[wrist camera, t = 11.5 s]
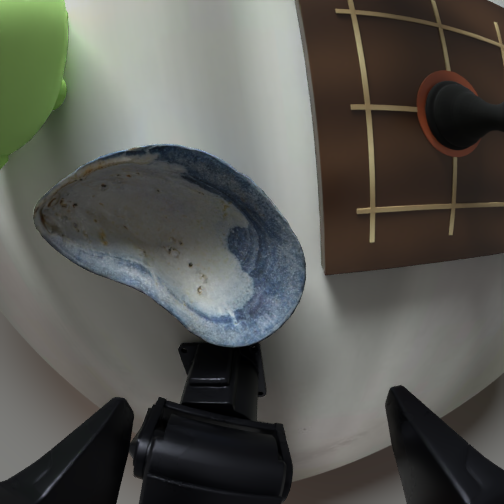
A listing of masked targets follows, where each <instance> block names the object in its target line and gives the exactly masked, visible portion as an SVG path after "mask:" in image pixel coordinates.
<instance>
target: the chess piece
mask: <svg viewBox="0 0 504 504" xmlns="http://www.w3.org/2000/svg"><path fill="white" fill-rule="evenodd" d="M425 114H426V119H427V123H428V126H429V128H430V130H431V132H432V134H433V135H434V137H435V138H436V139H437V141H439V142H440V143H441V144H442V145H443V146H445V147H447V148H449V149H452V150H464V149H467V148H469V147H470V146H472V145H474V144H475V143H477V142H478V141H479V139H480V138H482V137H483V136H485V135H486V134H487V133H489V132H490V131H502V132H504V102H502V103H501V104H498V105H494V104H489V103H487V102H485V101H484V100H482V99H481V98H480V97H478V96H477V95H475V94H474V93H473V92H472V91H471V90H470V89H468V88H466V87H465V86H463V85H461V84H459V83H457V82H454V81H442V82H439V83H437V84H436V85H434V86H433V87H432V88H431V90H430V91H429V93H428V96H427V99H426V104H425Z"/></svg>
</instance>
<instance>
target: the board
mask: <svg viewBox="0 0 504 504" xmlns="http://www.w3.org/2000/svg"><path fill="white" fill-rule="evenodd" d="M295 5H296V10H297V16H298V21H299V27H300V33H301V39H302V45H303V51H304V58H305V65H306V72H307V79H308V87H309V95H310V103H311V112H312V121H313V131H314V141H315V153H316V165H317V178H318V194H319V211H320V234H321V265H322V268H323V270H324V273H325V275H334V274H344V273H353V272H362V271H371V270H380V269H389V268H397V267H405V266H413V265H421V264H429V263H437V262H444V261H452V260H459V259H466V258H473V257H480V256H487V255H493V254H500V253H504V132H502V131H490V132H489V133H487V134H486V135H485V136H483V137H482V138H480V139H479V141H478V142H477V143H475V144H474V145H472V146H470V147H469V148H467V149H464V150H452V149H449V148H447V147H445V146H443V145H442V144H441V143H440V142H439V141H437V139H436V138H435V137H434V135H433V134H432V132H431V130H430V128H429V126H428V123H427V119H426V114H425V104H426V99H427V96H428V93H429V91H430V90H431V88H432V87H433V86H434V85H436V84H437V83H439V82H442V81H454V82H457V83H459V84H461V85H463V86H465V87H466V88H468V89H470V90H471V91H472V92H473V93H474V94H475V95H477V96H478V97H480V98H481V99H482V100H484V101H485V102H487V103H489V104H494V105H498V104H501V103H502V102H504V8H503V7H501V6H499V5H497V4H494V3H492V2H490V1H488V0H295Z"/></svg>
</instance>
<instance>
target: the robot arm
mask: <svg viewBox="0 0 504 504" xmlns="http://www.w3.org/2000/svg"><path fill="white" fill-rule="evenodd" d="M251 346H255V348H252V347H251ZM183 348H184V349H186V350H184V349H183ZM178 351H179V354H180V357H181V360H182V362H183V365H184V368H185V371H186V373H187V380H186V383H185V387H184V390H183V394H182V397H181V401H180V404H178V403H174V402H171V401H167V399H165V398H162V397H159V398H158V400H157V402H156V404H155V405H154V404H153V406H152V408H148V411H147V414H146V417H145V419H144V422H143V424H142V426H141V428H140V430H139V431H138V433H137V434H136V436H135V437H134V438H133V440H132V442H131V443H130V440H131V433H132V427H133V420H134V413H133V410H132V409H131V407H130V405H129V404H128V402H127V400H126V399H125V398H121V397H114V398H112V399H111V400H110V401H109V402H108V403H106V404H105V405H104V406H103V407H102V408H100V409H99V410H98V411H97V412H96V413H95V414H93V415H92V416H91V417H90V418H89V419H87V420H86V421H85V422H84V423H83V424H81V425H80V426H79V427H78V428H77V429H75V430H74V431H73V432H72V433H71V434H69V435H68V436H67V437H66V438H64V440H62V441H61V442H60V443H58V444H57V445H56V446H55V447H54V448H53V449H51V450H50V451H49V452H47V453H46V454H45V455H44V456H42V457H41V458H40V459H38V460H37V461H36V462H35V463H33V464H31V465H30V466H28V467H27V468H25V469H24V470H22V471H21V472H19V473H17V474H16V475H14V476H13V477H11V478H9V479H8V480H5V481H2V482H0V504H116V503H117V498H118V494H119V489H120V485H121V481H122V477H123V473H124V468H125V465H126V461H127V457H128V453H130V455H131V456H132V458H133V466H134V477H137V478H140V479H143V483H142V490H141V495H140V501H139V504H282V503H283V502H284V501H285V499H286V498H287V496H288V493H289V491H290V487H291V483H292V476H293V465H292V460H291V456H290V452H289V448H288V444H287V440H286V436H285V432H284V428H283V424H279V423H274V424H271V423H265V422H258V421H257V400H258V397H263V396H265V395H266V384H265V377H264V370H263V363H262V356H261V349H260V344H259V342H258V343H255V344H252V345H250V346H244V347H234V348H231V347H223V346H218V345H214V344H211V343H208V342H203V343H181V344H180V346H179V348H178ZM385 408H386V414H387V420H388V426H389V432H390V438H391V444H392V448H393V452H394V455H395V459H396V463H397V467H398V470H399V473H400V478H401V482H402V486H403V490H404V494H405V498H406V502H407V504H504V470H503V469H501V468H500V467H498V466H497V465H495V464H494V463H492V462H491V461H489V460H488V459H487V458H485V457H484V456H483V455H482V454H480V453H479V452H478V451H477V450H476V449H474V448H473V447H472V446H471V445H468V443H467V442H466V441H465V440H464V439H463V438H462V437H461V436H459V435H458V434H457V433H456V432H455V431H454V430H453V429H451V428H450V427H449V426H448V425H447V424H446V423H445V422H444V421H442V420H441V419H440V418H439V417H438V416H437V415H436V414H434V413H433V412H432V411H431V410H430V409H429V408H428V407H426V406H425V405H424V404H423V403H422V402H421V401H420V400H419V399H417V398H416V397H415V396H414V395H413V394H412V393H411V392H409V391H408V390H407V389H406V388H405V387H404V386H402V385H399V386H394V387H391V388H390V390H389V393H388V396H387V399H386V403H385Z"/></svg>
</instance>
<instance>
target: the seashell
mask: <svg viewBox="0 0 504 504" xmlns="http://www.w3.org/2000/svg"><path fill="white" fill-rule="evenodd" d="M33 219H34V224H35V227H36V229H37V230H38V231H39V232H40V234H41V236H42V237H43V238H44V239H45V240H46V241H47V242H48V243H49V244H50V245H51V246H52V247H53V248H54V249H56V250H57V251H58V252H59V253H60V254H62V255H63V256H65V257H66V258H67V259H69V260H70V261H72V262H73V263H75V264H77V265H78V266H80V267H82V268H83V269H85V270H87V271H90V272H92V273H94V274H97V275H99V276H102V277H105V278H108V279H111V280H114V281H116V282H118V283H121V284H124V285H126V286H129V287H132V288H134V289H136V290H138V291H140V292H142V293H144V294H146V295H148V296H150V297H151V298H152V299H153V300H154V301H155V302H157V303H158V304H159V305H160V306H162V307H163V308H164V309H166V310H167V311H168V312H169V313H170V314H171V315H173V316H174V317H176V318H177V319H178V320H179V321H180V323H181V324H182V325H183V326H184V327H185V328H186V329H188V330H189V332H191V333H193V334H194V335H196V336H198V337H199V338H201V339H203V340H205V341H207V342H208V343H211V344H214V345H218V346H223V347H231V348H234V347H244V346H250V345H252V344H255V343H258V342H260V341H262V340H264V339H266V338H268V337H269V336H271V335H272V334H273V333H275V332H276V331H277V330H278V329H280V328H281V327H282V325H283V324H284V323H285V322H286V321H287V320H288V319H289V317H290V316H291V315H292V314H293V312H294V311H295V309H296V307H297V305H298V304H299V302H300V299H301V296H302V293H303V290H304V286H305V280H306V263H305V257H304V253H303V250H302V247H301V245H300V243H299V241H298V239H297V237H296V235H295V234H294V233H293V231H292V229H291V228H290V226H289V224H288V222H287V220H286V219H285V218H284V217H283V216H282V215H281V213H280V212H279V210H278V209H277V208H276V206H275V205H274V204H273V202H272V201H271V200H270V199H269V198H268V197H267V196H266V194H265V193H264V191H263V190H261V189H260V188H259V187H258V186H257V185H256V184H255V183H254V182H253V181H252V180H251V179H250V178H249V177H248V176H246V175H245V174H243V173H240V172H238V171H237V170H236V169H234V168H233V167H232V166H231V165H230V164H228V163H227V162H225V161H223V160H222V159H220V158H218V157H216V156H215V155H212V154H210V153H207V152H205V151H202V150H199V149H195V148H190V147H186V146H181V145H174V144H155V145H147V146H140V147H136V148H132V149H128V150H123V151H117V152H113V153H110V154H107V155H104V156H100V157H99V158H97V159H95V160H93V161H91V162H88V163H86V164H84V165H82V166H81V167H79V168H77V169H76V170H75V171H74V172H73V173H71V174H70V175H68V176H67V177H65V178H64V179H62V180H61V181H60V182H58V183H57V184H56V185H55V186H54V187H53V188H51V189H50V190H49V191H48V192H47V193H46V194H45V195H44V196H43V197H42V198H41V199H40V200H39V201H38V202H37V204H36V206H35V209H34V215H33Z"/></svg>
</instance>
